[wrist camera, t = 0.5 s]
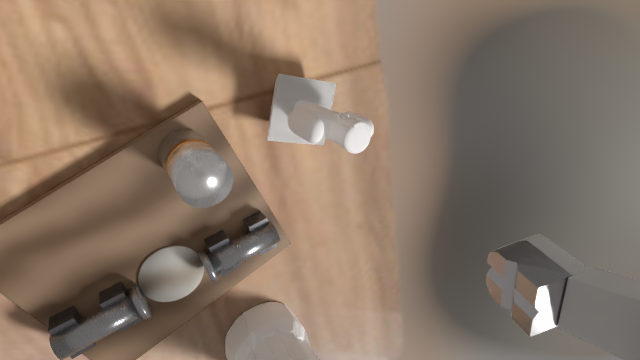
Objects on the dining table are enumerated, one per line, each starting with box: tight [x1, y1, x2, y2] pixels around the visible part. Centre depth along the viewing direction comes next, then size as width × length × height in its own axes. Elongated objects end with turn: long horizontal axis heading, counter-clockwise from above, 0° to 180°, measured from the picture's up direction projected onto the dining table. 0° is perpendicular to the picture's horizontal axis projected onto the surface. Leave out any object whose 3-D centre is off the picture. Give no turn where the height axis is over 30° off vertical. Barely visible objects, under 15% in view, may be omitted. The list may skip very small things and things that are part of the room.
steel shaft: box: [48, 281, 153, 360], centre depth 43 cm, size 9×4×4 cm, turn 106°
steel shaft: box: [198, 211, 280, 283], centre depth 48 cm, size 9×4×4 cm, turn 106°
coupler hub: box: [159, 129, 233, 208], centre depth 39 cm, size 5×5×9 cm
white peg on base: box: [267, 74, 374, 153], centre depth 42 cm, size 7×9×15 cm
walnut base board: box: [0, 100, 291, 360], centre depth 45 cm, size 22×26×2 cm
